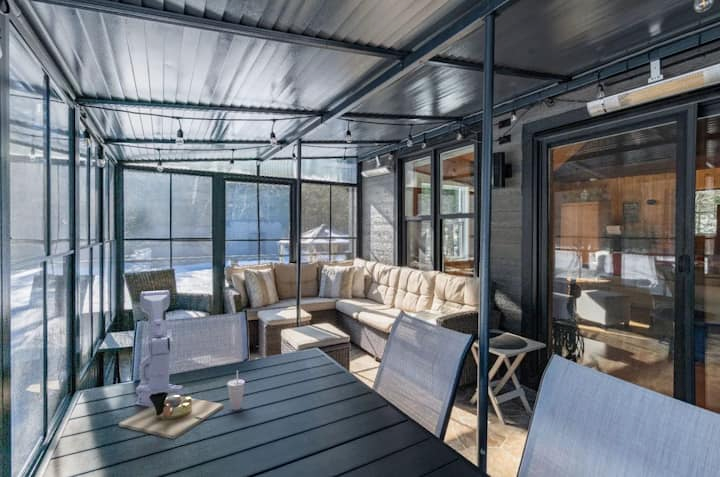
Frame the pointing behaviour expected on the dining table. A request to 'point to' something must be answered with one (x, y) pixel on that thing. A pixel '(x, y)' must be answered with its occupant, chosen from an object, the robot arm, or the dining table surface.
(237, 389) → the smoothie
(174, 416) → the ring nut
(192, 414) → the base plate
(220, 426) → the dining table surface
